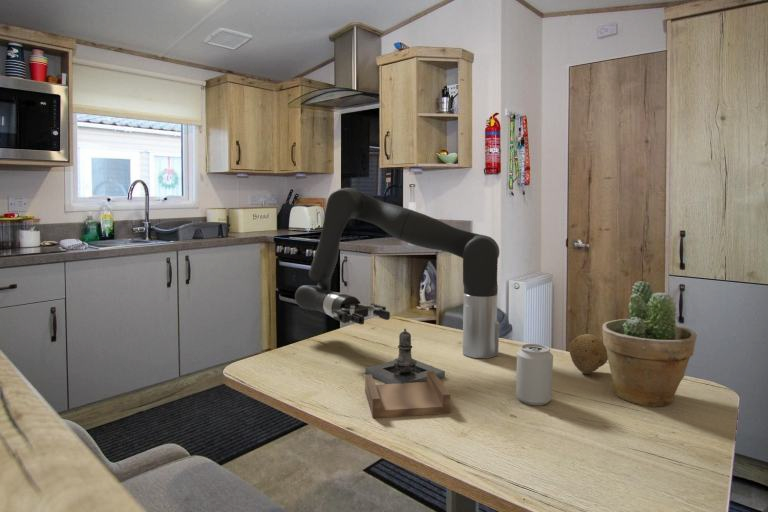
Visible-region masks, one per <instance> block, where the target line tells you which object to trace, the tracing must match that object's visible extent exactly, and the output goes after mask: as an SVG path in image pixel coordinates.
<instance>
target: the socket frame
mask: <svg viewBox="0 0 768 512" xmlns="http://www.w3.org/2000/svg"><path fill="white" fill-rule="evenodd" d="M415 360H416V359H415ZM393 361H394V360H391V361H387V362H383V363H379V364H375V365H372V366H368V367H367V366H366V367H365V370H364V372H365V374H364V375H368V374H371V375H372V377H373V379H377V380H378V381H380V382H382V383H383V384H398V383H400V384H404V383H416V382H427V371H434V373H435V374H436V375H437V377H438V378H439V380H441V379H443V378H446V370H442V369H441V368H438V367H435V366H432V365H431V364H430V365H429V364H427V363H426V362H425V363H424V362H422V361H419V360H416V361H417V363H416V365H415V368H414V370H413V371H414V372H417V373H414V375H410V376H407V377H404V378H403V377H401V376H398V375H396V374H395V373H393V372H397V370H396V368H395V366H394V363H393ZM413 371H412V372H413Z"/></svg>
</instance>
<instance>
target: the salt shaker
mask: <svg viewBox="0 0 768 512" xmlns="http://www.w3.org/2000/svg"><path fill="white" fill-rule="evenodd" d="M398 341H399V342H398V346H397V348H398V356H397V358H395V359H393V360H392V361H393V363H394V366H395V368H396V372H395V373H394V374H396V375H398V376H401V377H403V378H404V377H407V376H410V375H414V374H415V372H413V370H414V368H415V365H416V363H417V361H418V360H417V361H416V359H415V358H413V357H412V348H413V345H412V334H411V333H410V332H408V331H407V329H406V328H404V329H403V331H401V333H400V334H399V340H398Z"/></svg>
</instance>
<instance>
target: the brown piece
mask: <svg viewBox="0 0 768 512" xmlns="http://www.w3.org/2000/svg"><path fill="white" fill-rule="evenodd" d="M364 394H365V396H366V400H367V403H368V407H369V411H370V413H371V417H372V419H377V418H378V419H379V418H392V417H393V418H394V417H395V418H396V417H408V416H409V417H410V416H411V417H413V416H423V415H424V416H425V415H441V414H450V413H451V393H450V391H448V390H447V388H446V387H445V385H444V384H443V382H442V381H441V379H439V378H438V377H437V375H436V374H435V373H434V371H427V382H416V383H404V384H400V383H398V384H387V383H383V384H376V383H375V379H374V377H372V375H371V374H368V375H367V374H364Z"/></svg>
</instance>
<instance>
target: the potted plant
mask: <svg viewBox="0 0 768 512" xmlns="http://www.w3.org/2000/svg"><path fill="white" fill-rule="evenodd" d="M631 292H632V293H631V295H630V297H629V303H628V310H629V311H628V312H629V314H628V318H620V319H613V320H609V321H606V322H604V323H603V324H602V338H603V339H602V340H603V341H602V342H603V344H604V346H605V347H606V350H607V356H608V359H607V362H608V364H609V370H610V374H611V378H612V379H611V380H612V382H613V388H614V391H615V394H616V395H617V397H619V398H620V399H621V400H624V401H627V402H628V403H632V404H634V405H639V406H641V407H642V406H643V407H651V408H656V407H666V406H669V405H670V404H671V403H672V402H673V400H674V397H675V395H676V392H677V390H678V388H679V386H680V383H681V381H682V380H683V379H684V377H685V372H686V370H687V367H688V364H689V361H690V358H691V357H692V356H693V355H694V351H695V345H696V342H697V341H696V340H697V336H698V334H697V333H696V332H694V331H693V330H692V329H691V328H688V327H685V326H683V325H680V324H677V323H676V315H677V313H676V311H677V307H676V300H674V297H672V296H671V294H668V293H666V292H653V288H652V285H651V284H650V283H649V282H647V281H640V280H639V281H636V282H634V285H632V289H631Z"/></svg>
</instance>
